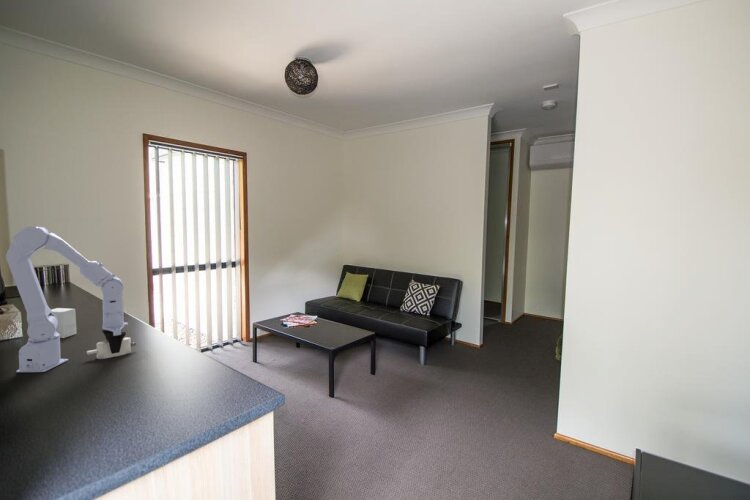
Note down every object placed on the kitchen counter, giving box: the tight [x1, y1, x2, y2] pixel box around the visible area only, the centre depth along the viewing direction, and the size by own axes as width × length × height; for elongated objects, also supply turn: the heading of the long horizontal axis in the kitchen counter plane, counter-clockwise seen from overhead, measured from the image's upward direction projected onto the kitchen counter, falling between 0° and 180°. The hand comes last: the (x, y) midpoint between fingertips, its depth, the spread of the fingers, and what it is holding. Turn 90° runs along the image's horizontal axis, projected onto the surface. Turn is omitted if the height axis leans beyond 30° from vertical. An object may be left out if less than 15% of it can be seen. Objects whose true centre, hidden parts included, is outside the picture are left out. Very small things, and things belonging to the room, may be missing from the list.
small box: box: [51, 307, 77, 339], centre depth 138 cm, size 8×6×10 cm
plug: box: [86, 336, 137, 360], centre depth 120 cm, size 14×4×5 cm, turn 135°
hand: (114, 350), depth 121 cm, fingers open, 4 cm apart
